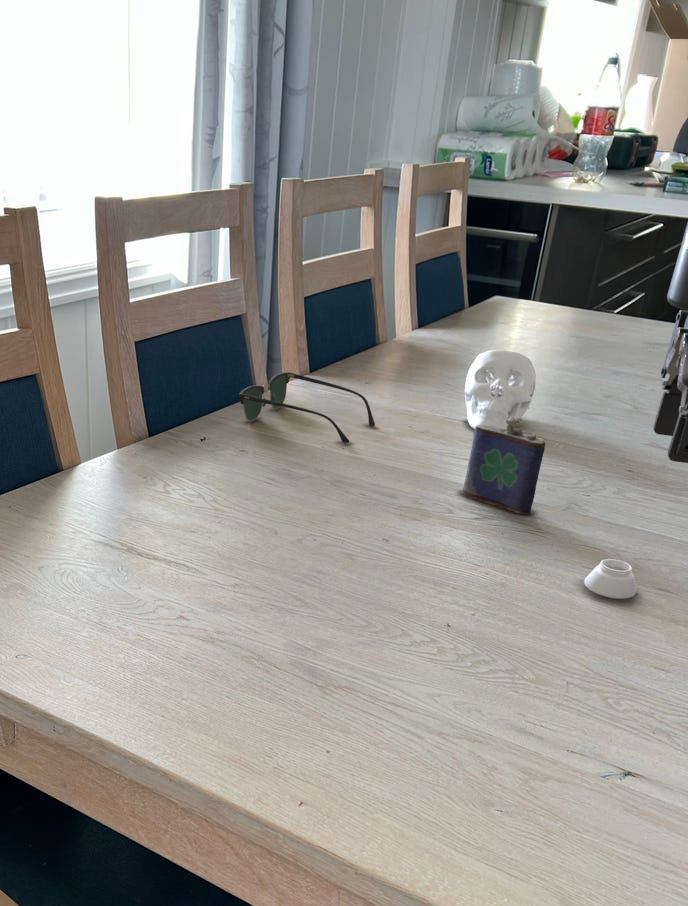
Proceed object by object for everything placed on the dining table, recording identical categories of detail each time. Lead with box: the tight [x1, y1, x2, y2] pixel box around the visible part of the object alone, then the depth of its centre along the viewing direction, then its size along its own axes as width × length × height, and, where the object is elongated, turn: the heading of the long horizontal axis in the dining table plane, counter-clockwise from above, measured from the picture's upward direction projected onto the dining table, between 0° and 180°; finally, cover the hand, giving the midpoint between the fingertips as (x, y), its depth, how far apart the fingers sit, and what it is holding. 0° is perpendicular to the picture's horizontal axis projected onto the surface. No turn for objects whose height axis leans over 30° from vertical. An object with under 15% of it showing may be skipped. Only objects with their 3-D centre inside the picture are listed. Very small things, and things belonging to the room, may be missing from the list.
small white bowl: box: [583, 558, 638, 600], centre depth 100 cm, size 5×3×5 cm
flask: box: [462, 417, 546, 515], centre depth 119 cm, size 9×3×11 cm, turn 46°
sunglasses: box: [238, 371, 376, 444], centre depth 145 cm, size 16×17×5 cm
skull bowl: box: [464, 349, 537, 430], centre depth 151 cm, size 10×14×12 cm
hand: (672, 446), depth 85 cm, fingers open, 7 cm apart
